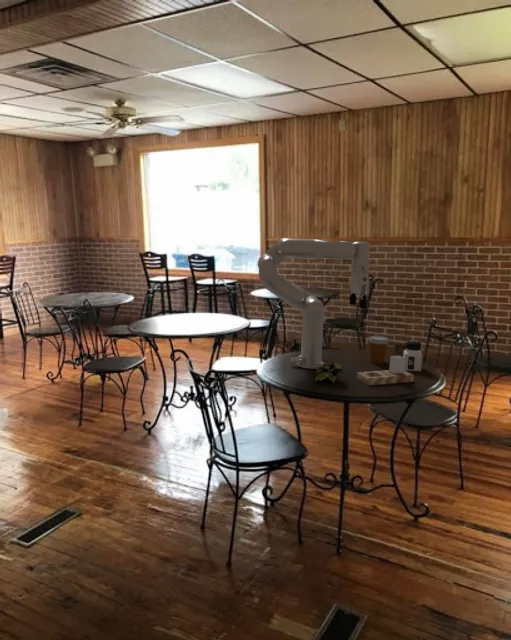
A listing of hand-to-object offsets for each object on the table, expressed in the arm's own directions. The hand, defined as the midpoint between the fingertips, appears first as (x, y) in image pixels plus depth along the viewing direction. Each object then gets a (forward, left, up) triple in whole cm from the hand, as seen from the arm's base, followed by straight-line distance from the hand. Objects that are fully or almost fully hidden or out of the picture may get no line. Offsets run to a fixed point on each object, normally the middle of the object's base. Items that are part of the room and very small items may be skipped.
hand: (357, 306), depth 245 cm
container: (+24, -11, -28) cm, 39 cm away
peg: (+8, -24, -28) cm, 38 cm away
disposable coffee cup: (+14, +3, -28) cm, 32 cm away
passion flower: (-22, -20, -29) cm, 41 cm away
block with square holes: (+2, -24, -28) cm, 37 cm away
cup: (+26, +1, -28) cm, 39 cm away
